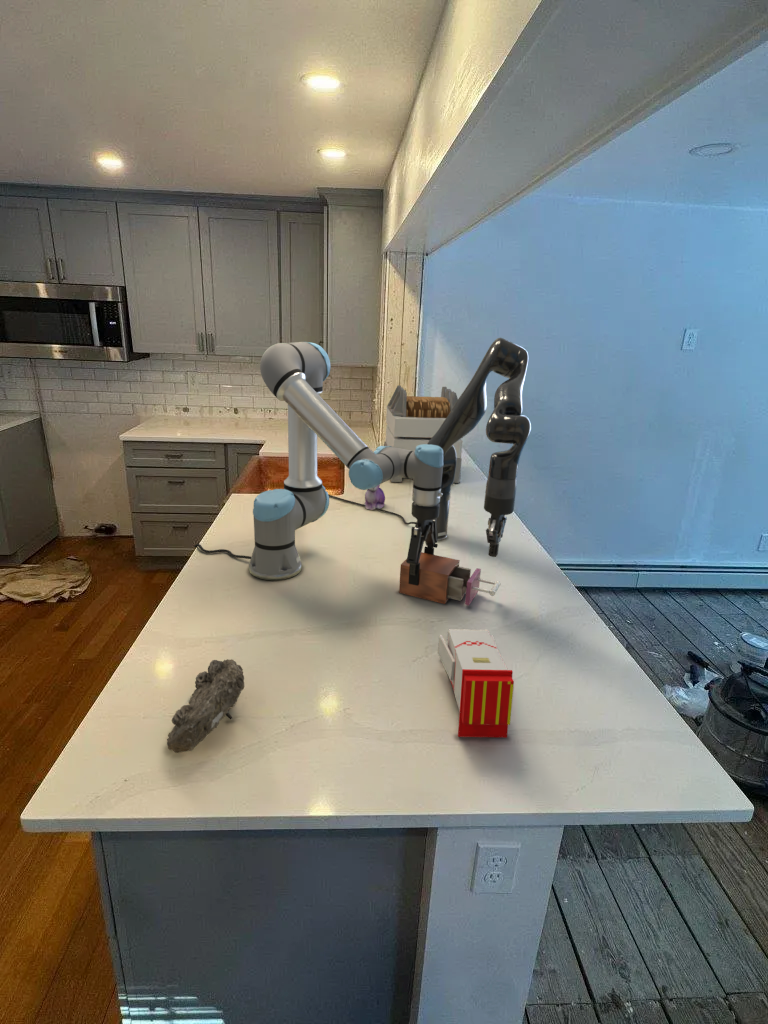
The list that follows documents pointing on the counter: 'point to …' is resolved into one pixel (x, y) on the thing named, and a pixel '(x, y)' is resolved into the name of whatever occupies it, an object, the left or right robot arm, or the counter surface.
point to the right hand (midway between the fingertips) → (493, 555)
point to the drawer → (467, 584)
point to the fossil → (206, 705)
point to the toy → (478, 682)
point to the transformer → (418, 422)
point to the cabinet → (429, 578)
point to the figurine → (374, 498)
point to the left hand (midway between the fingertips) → (420, 575)
